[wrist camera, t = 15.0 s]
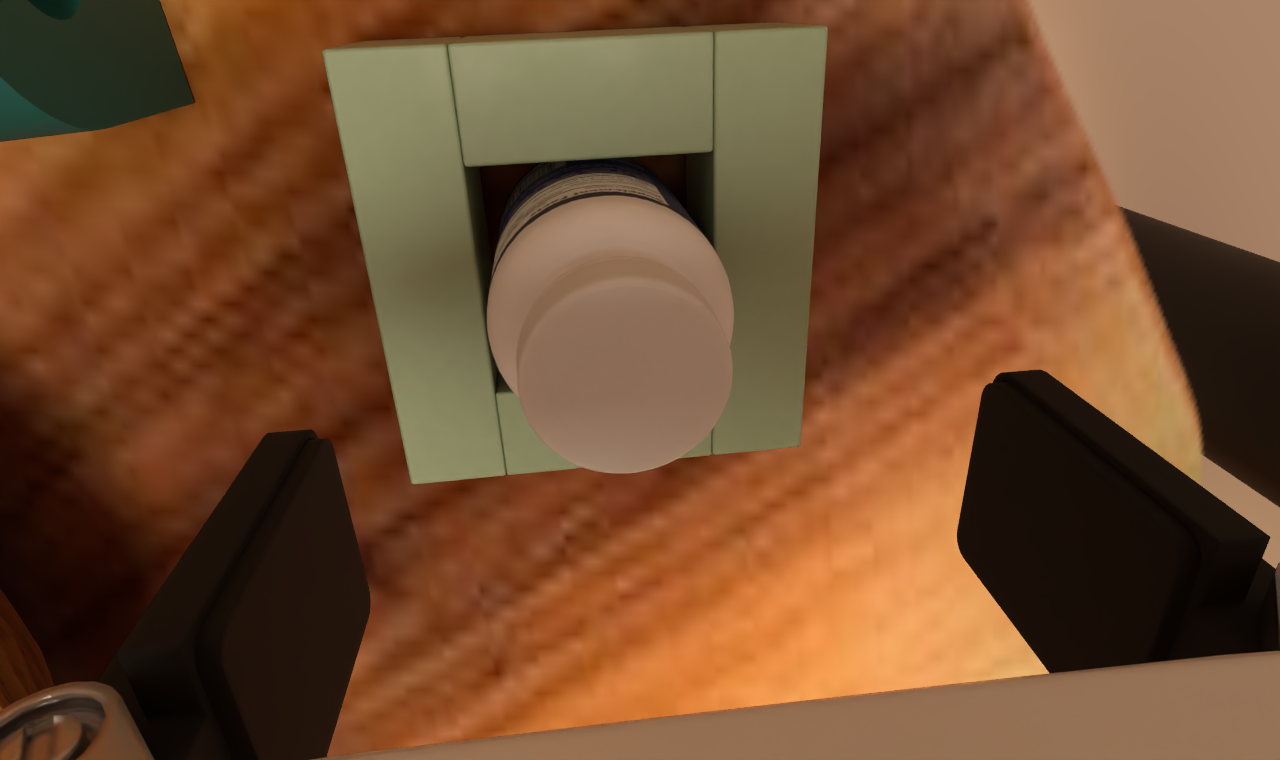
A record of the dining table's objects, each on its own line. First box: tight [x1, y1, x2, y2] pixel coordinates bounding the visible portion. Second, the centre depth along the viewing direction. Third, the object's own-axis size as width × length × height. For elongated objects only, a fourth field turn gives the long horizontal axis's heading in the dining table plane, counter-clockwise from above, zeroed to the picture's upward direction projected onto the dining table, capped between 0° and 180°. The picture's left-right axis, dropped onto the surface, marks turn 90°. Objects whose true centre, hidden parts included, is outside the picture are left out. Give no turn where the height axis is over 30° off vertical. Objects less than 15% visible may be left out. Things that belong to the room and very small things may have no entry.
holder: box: [323, 22, 828, 484], centre depth 21 cm, size 11×11×4 cm
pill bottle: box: [487, 157, 734, 473], centre depth 18 cm, size 5×5×10 cm
